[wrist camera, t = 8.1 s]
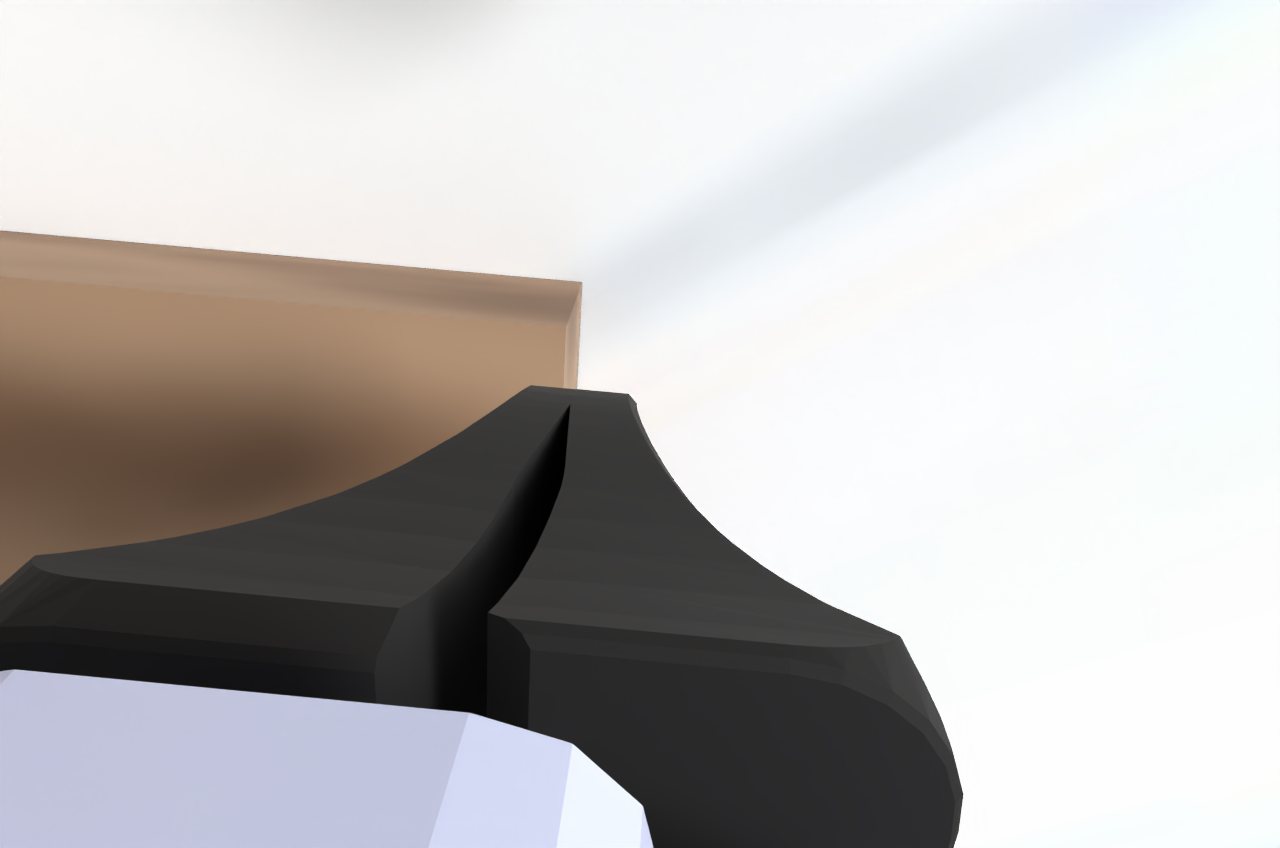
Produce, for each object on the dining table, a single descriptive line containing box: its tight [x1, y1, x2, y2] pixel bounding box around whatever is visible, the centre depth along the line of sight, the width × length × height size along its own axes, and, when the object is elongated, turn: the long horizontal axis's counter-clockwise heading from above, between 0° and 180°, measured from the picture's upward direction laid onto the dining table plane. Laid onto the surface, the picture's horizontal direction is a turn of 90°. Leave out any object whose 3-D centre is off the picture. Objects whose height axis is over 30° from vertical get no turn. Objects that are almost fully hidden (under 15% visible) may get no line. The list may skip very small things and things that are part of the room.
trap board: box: [0, 231, 582, 585], centre depth 24 cm, size 16×24×3 cm, turn 86°
